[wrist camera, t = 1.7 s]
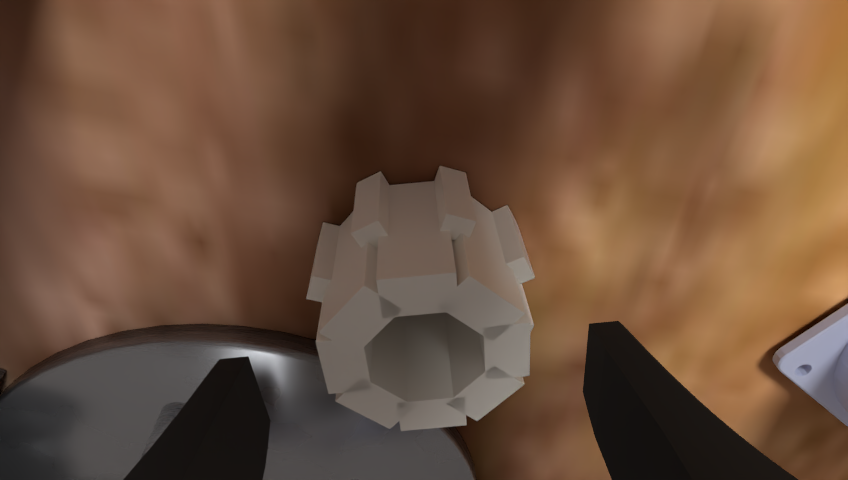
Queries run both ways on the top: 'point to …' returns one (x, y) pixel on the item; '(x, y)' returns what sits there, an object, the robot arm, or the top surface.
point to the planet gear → (422, 304)
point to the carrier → (173, 386)
